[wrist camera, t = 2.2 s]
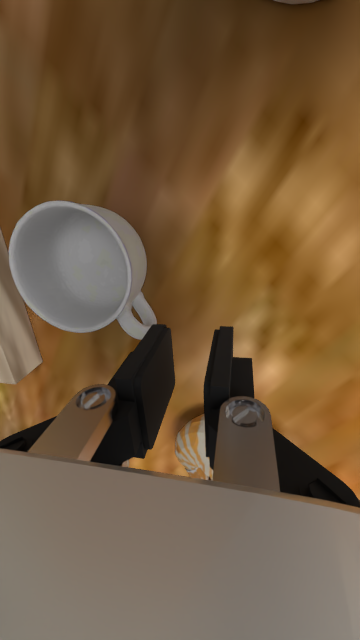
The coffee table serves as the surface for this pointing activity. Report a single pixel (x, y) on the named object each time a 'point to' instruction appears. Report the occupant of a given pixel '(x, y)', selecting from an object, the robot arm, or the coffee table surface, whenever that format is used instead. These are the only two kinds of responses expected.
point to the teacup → (80, 268)
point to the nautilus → (194, 449)
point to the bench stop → (14, 328)
